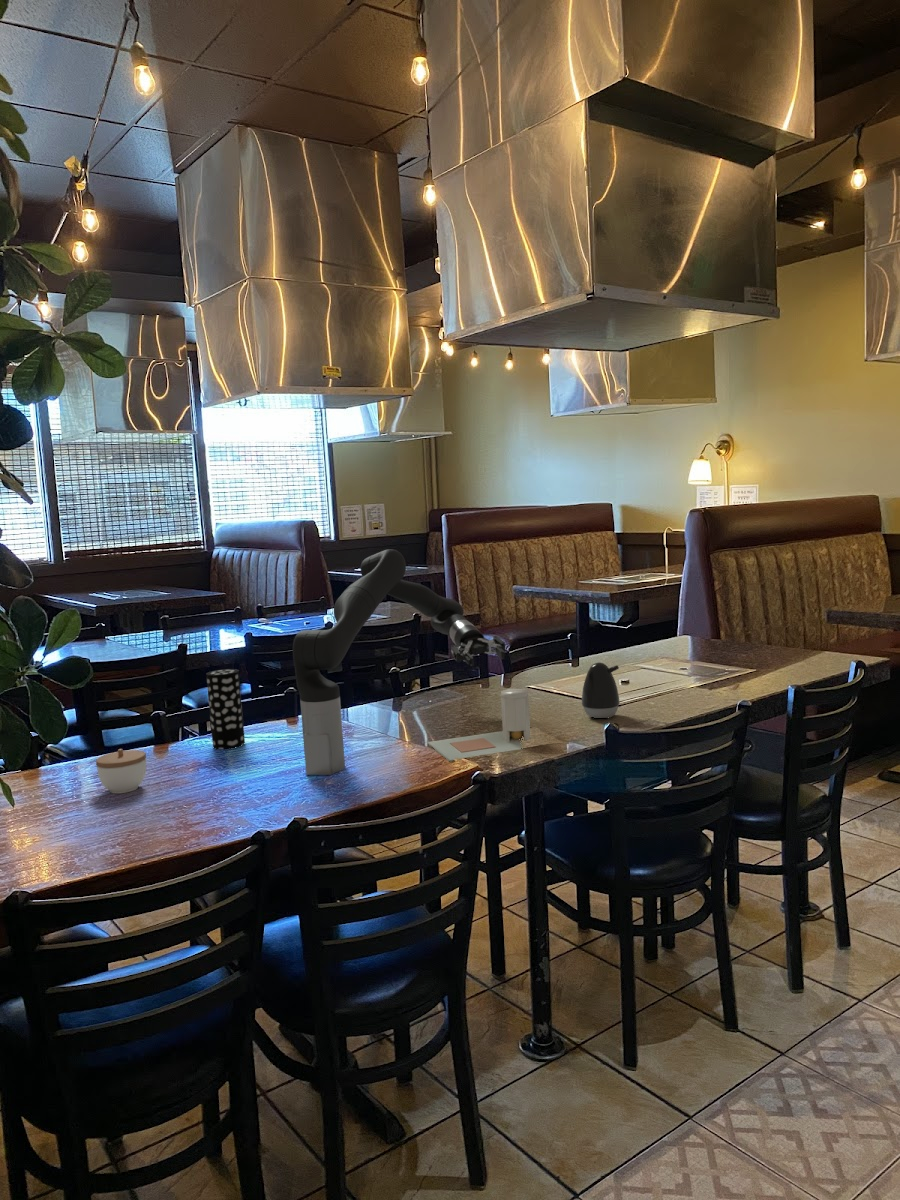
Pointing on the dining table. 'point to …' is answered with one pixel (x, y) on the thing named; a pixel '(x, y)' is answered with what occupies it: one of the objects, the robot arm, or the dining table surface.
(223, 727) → the white-spotted black cylinder
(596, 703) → the pump dispenser
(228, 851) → the dining table surface
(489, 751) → the mat
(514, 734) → the ball
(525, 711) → the white cover with opening
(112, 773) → the lidded jar
